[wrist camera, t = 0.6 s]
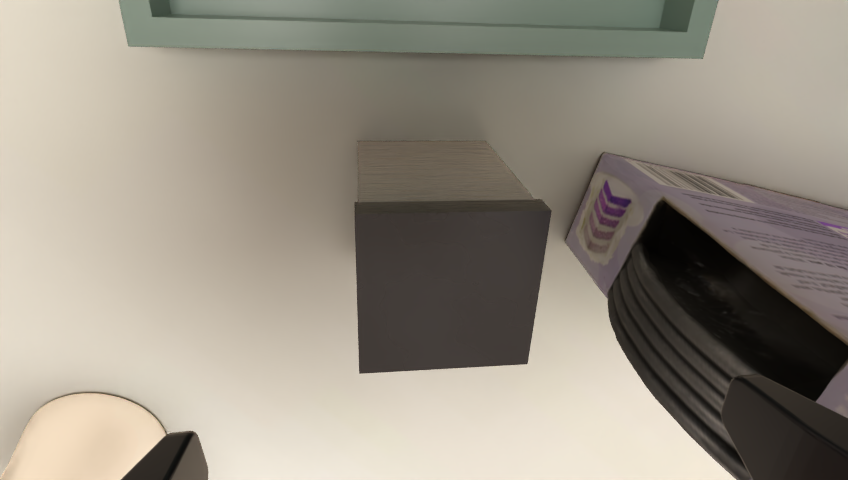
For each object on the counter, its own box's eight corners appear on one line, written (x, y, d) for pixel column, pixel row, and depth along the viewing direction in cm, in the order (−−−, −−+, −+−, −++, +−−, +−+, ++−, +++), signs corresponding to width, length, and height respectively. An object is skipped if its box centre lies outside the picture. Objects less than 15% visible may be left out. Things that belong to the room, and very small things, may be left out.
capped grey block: (488, 138, 20) (551, 210, 14) (477, 255, 22) (527, 363, 16) (354, 138, 19) (354, 214, 13) (357, 258, 22) (359, 373, 15)
